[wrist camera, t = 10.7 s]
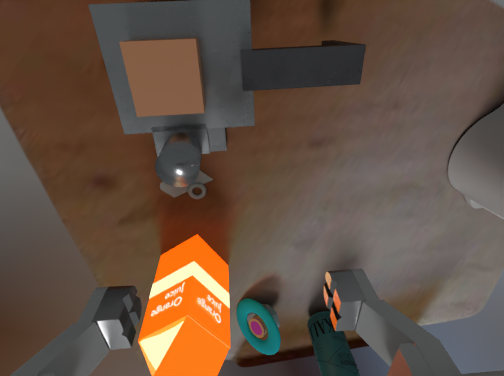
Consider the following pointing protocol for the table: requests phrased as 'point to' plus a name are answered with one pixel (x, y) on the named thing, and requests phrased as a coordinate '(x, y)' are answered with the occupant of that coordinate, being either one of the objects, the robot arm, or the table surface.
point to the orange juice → (187, 313)
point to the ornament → (259, 325)
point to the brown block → (165, 76)
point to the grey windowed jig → (212, 73)
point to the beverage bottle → (330, 347)
